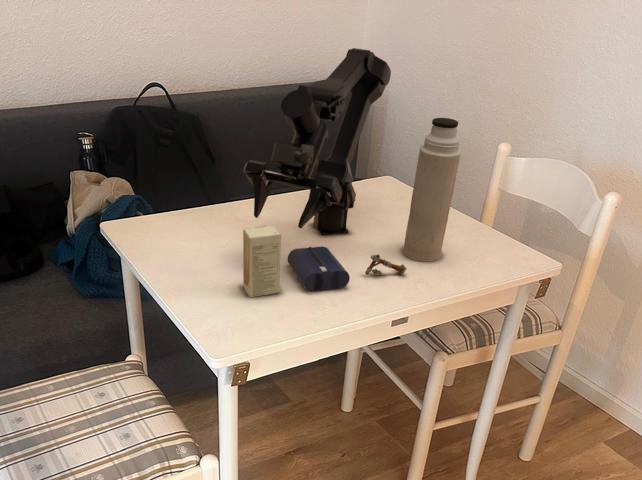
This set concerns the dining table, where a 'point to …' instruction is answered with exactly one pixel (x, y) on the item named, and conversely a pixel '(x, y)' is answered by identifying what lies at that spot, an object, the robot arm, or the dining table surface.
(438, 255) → the thermos bottle
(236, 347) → the dining table surface
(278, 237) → the cosmetic box
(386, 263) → the wooden post with brackets
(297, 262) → the pouch
